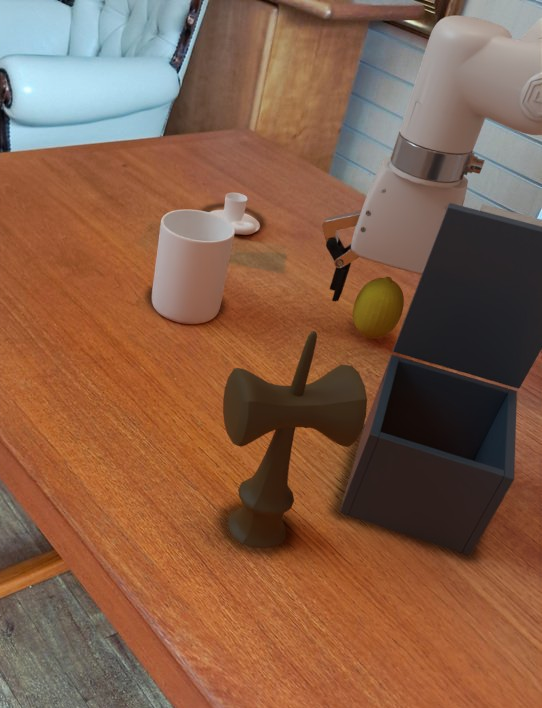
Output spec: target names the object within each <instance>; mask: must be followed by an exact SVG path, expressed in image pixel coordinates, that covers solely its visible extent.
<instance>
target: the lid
mask: <svg viewBox="0 0 542 708" xmlns="http://www.w3.org/2000/svg"><path fill="white" fill-rule="evenodd" d="M541 351H542V218H538V217H537V218H536V217H533V216H529V215H525V214H523V213H522V214H521V213H517V212H513V211H511V210H505V209H502V208H498V207H494V206H491V205H486V204H482V205H481V207H480V208H479V209H476V208H472V207H467V206H464V205H463V206H460V205H456V204H452V203H449V205H448V208H447V210H446V213H445V215H444V218H443V221H442V223H441V226H440V228H439V231H438V234H437V236H436V239H435V241H434V244H433V247H432V249H431V252H430V254H429V257H428V260H427V262H426V265H425V267H424V270H423V273H422V275H420V277H419V280H418V283H417V286H416V288H415V291H414V294H413V297H412V299H411V301H410V304H409V307H408V308H407V311H406V315H405V317H404V320H403V323H402V325H401V328H400V329H399V333H398V335H397V338H396V340H395V343H394V346H393V348H392V352H393V353H395V354H399V355H402V356H405V357H408V358H412V359H415V360H419V361H422V362H425V363H429V364H432V365H437V366H440V367H443V368H447V369H450V370H453V371H457V372H460V373H464V374H467V375H471V376H474V377H478V378H480V379H484V380H487V381H491V382H494V383H498V384H501V385H504V386H508V387H510V388H511V387H512V388H515V389H520V388H521V386H522V385H523V383H524V382H525V380H526V378H527V376H528V375H529V372H530V371H531V369H532V367H533V365H534V364H535V362H536V360H537V358H538V357H539V355H540V354H541Z"/></svg>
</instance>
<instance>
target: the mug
mask: <svg viewBox="0 0 542 708" xmlns="http://www.w3.org/2000/svg"><path fill="white" fill-rule="evenodd" d="M209 212H210V211H209ZM209 212H208V211H205V210H200V209H188V208H187V209H175V210H171V211H169V212H167V213H165V214H164V215H163V216H162V217H161V220H160V226H159V234H158V242H157V249H156V250H157V251H156V257H155V265H154V266H155V267H154V275H153V281H152V288H151V289H152V290H151V304H152V306H153V308H154V310H155V311H156V312H157V313H158V314H159V315H160V316H162V317H163V318H165V319H167V320H169V321H172V322H175V323H179V324H185V325H200V324H204V323H207V322H209V321H211V320H213V319H214V318H216V317H217V315H218V314H219V311H220V309H221V305H222V301H223V297H224V291H225V285H226V281H227V275H228V270H229V265H230V261H231V254H232V250H233V249H232V248H233V244H234V239H235V235H236V234H235V229H234V227H233V225H232V224H231V223H230V222H229V221H227V220H226V219H224V218H222V217H220V216H218V215H215V214H212V213H209Z"/></svg>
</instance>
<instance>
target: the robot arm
mask: <svg viewBox="0 0 542 708" xmlns="http://www.w3.org/2000/svg"><path fill="white" fill-rule="evenodd" d="M420 62H421V63H420V66H419V69H418V72H417V75H416V78H415V82H414V84H413V87H412V91H411V94H410V97H409V100H408V104H407V106H406V109H405V113H404V115H403V119H402V122H401V125H400V128H399V131H398V135H397V138H396V140H395V144H394V147H393V150H392V153H391V156H388V157H385V158H383V160H382V161H381V163H380V164H379V167H378V169H377V171H376V173H375V174H374V177H373V179H372V181H371V184H370V186H369V188H368V192H367V195H366V196H365V200H364V202H363V205H362V208H361V209H360V210H356V211H352V212H351V211H350V212H347V213H341V214H338V215H332V216H328V217H326V218H325V219H324V220H323V222H322V224H321V225H322V230H323V235H324V239H325V243H326V244H325V247H326V249H327V251H328V252H329V254H330V256H331V258H332V260H333V261H334V266H335V268H334V273H333V276H332V279H331V282H330V285H329V290H330V291H333V294H332V295H333V296H332V298H331V301H332V302H339V301H340V298H341V295H342V293H343V291H344V287H345V284H346V281H347V278H348V275H349V272H350V268H351V265H352V262H354V261H355V260H357V259H359V258H361V259H364V260H367V261H370V262H373V263H377V264H381V265H383V266H387V267H391V268H394V269H398V270H401V271H405V272H409V273H413V274H416V275H420V276H421V275H422V273H423V270H424V267H425V265H426V262H427V260H428V257H429V254H430V252H431V249H432V247H433V244H434V241H435V239H436V236H437V234H438V231H439V228H440V226H441V223H442V221H443V218H444V215H445V213H446V210H447V208H448V205H449V203H452V204H456V205H460V206H464V202H465V199H466V195H467V190H468V184H469V179H468V178H467V177H465V176H468V174H473V173H474V174H479V175H480V174H481V172H482V169H483V166H484V164H485V159H481V158H479V156H476V155H475V152H474V149H475V146H476V144H477V141H478V138H479V137H480V136H479V135H480V133H481V131H482V128H483V125H484V122H485V121H486V119H487V120H488V119H489V120H491V121H493V122H495V123H497V124H500V125H503V126H504V127H507V128H509V129H512V130H514V131H517V132H518V133H521V134H524V135H530V136H542V16H541V17H540V18H539V19H538V20H537V21H536V22H535V23H533V25H532V26H531V27H530V28H529V29H528V30H527V31H526V32H524V33H523V35H522V36H520V38H519V39H516V38H513V35H512V34H511V32H510V31H509V30H508V29H507V28H505V27H504V26H502V25H500V24H498V23H496V22H493V21H491V20H487V19H482V18H479V17H473V16H468V15H460V14H459V15H457V14H455V15H454V14H453V15H448V16H444V17H443V18H441V19H440V20H439V21H438V22H436V24H435V25H434V27H433V28H432V30H431V32H430V35H429V38H428V41H427V44H426V46H425V50H424V53H423V56H422V59H421V61H420ZM352 227H354V231H353V235H352V238H351V242H350V243H349V244H348V245H346V246H344V244H343V242H342V240H341V239H340V237H339V234H338V230H343V229H348V228H352Z"/></svg>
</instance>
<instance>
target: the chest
mask: <svg viewBox="0 0 542 708" xmlns="http://www.w3.org/2000/svg"><path fill="white" fill-rule="evenodd" d="M517 398H518V391H517V390H515V389H512V388H508V387H504V386H501V385H498V384H494V383H491V382H488V381H484V380H481V379H478V378H474V377H471V376H468V375H465V374H461V373H458V372H454V371H451V370H446V369H444V368H440V367H437V366H433V365H430V364H427V363H423V362H420V361H416V360H413V359H410V358H406V357H402V356H399V355H396V354H393V353H392V354H391V355H390V357H389V360H388V362H387V365H386V368H385V370H384V373H383V376H382V378H381V381H380V383H379V386H378V389H377V392H376V394H375V397H374V399H373V402H372V405H371V408H370V410H369V413H368V415H367V419H366V420H365V422H364V425H363V429H362V431H361V434H360V435H361V436H360V439H359V443H358V445H357V449H356V454H355V457H354V460H353V463H352V467H351V471H350V474H349V477H348V481H347V485H346V488H345V491H344V495H343V499H342V502H341V505H340V509H339V513H340V514H342V515H346V516H349V517H352V518H355V519H357V520H361V521H363V522H366V523H370V524H373V525H375V526H378V527H381V528H385V529H387V530H391V531H394V532H397V533H399V534H403V535H406V536H409V537H412V538H414V539H418V540H421V541H424V542H427V543H430V544H433V545H436V546H438V547H442V548H444V549H447V550H451V551H454V552H456V553H460V554H463V555H465V556H469V557H470V556H472V555H473V552H474V551H475V549H476V548H477V545H478V544H479V542H480V541H481V539H482V537H483V535H484V533H485V532H486V530H487V528H488V526H489V525H490V523H491V522H492V519H493V517H494V515H495V514H496V512H497V511H498V509H499V507H500V505H501V503H502V501H503V500H504V498H505V497H506V495H507V493H508V491H509V489H510V488H511V486H512V484H513V483H514V481H515V467H516V466H515V465H516V437H517V436H516V435H517V434H516V433H517V405H518V404H517V403H518V399H517Z"/></svg>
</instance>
